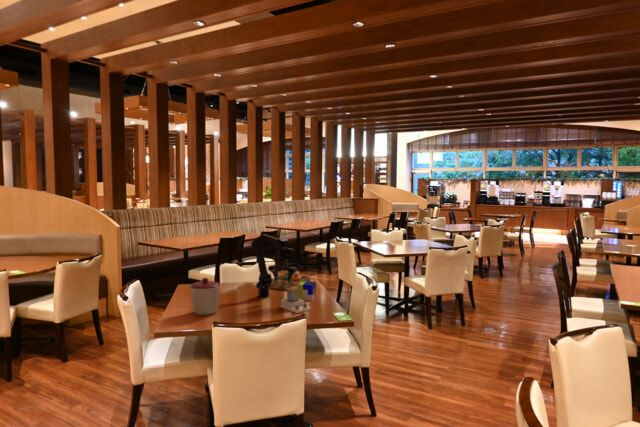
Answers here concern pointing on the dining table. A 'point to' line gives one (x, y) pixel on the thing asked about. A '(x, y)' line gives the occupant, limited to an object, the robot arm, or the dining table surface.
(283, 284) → the bolt corral
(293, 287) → the grey tall block
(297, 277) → the toy bolts
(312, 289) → the puzzle toy
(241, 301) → the dining table surface
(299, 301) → the chassis
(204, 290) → the canister
